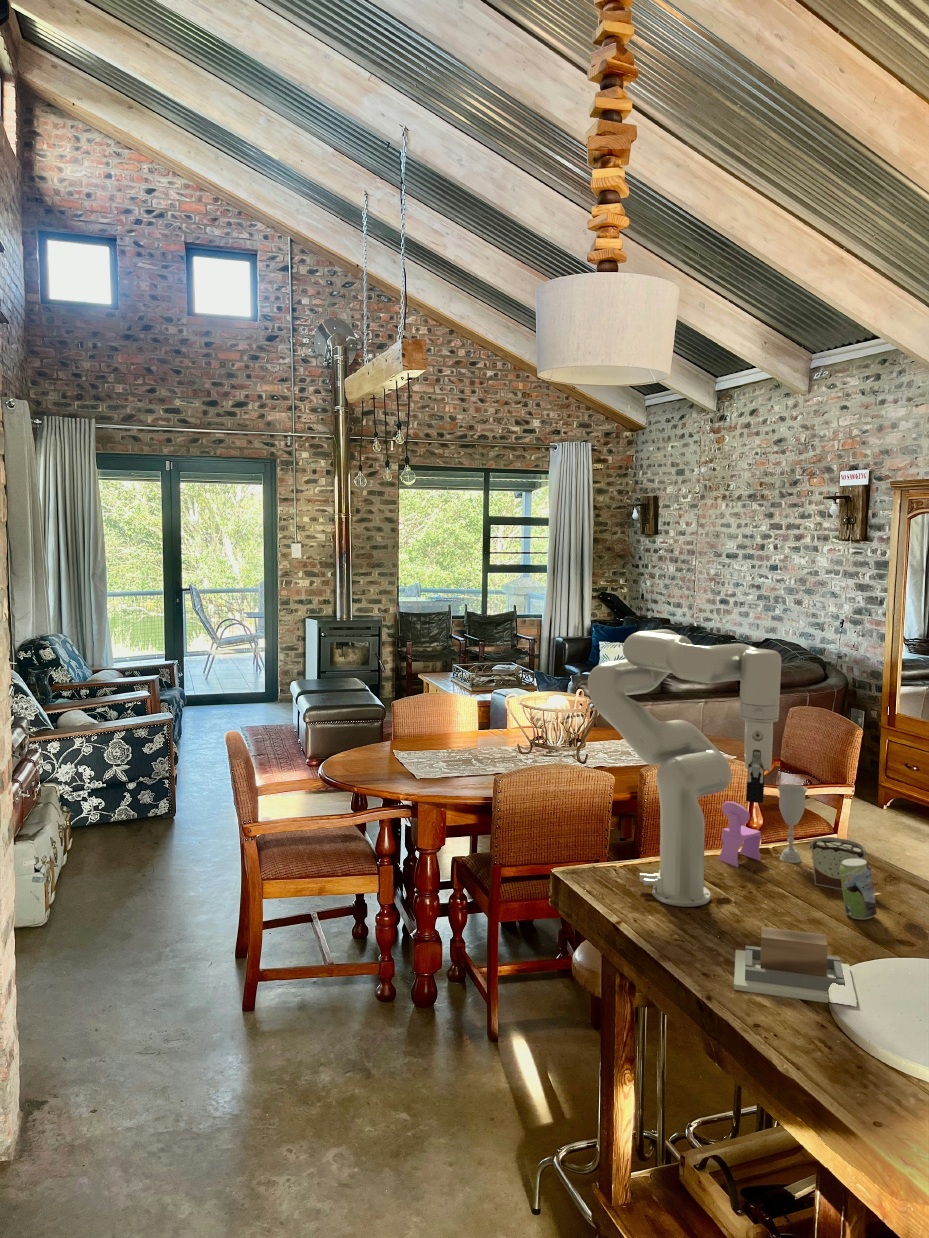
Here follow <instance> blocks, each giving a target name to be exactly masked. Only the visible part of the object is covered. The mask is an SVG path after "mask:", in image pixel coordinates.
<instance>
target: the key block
mask: <svg viewBox="0 0 929 1238" xmlns="http://www.w3.org/2000/svg"><path fill="white" fill-rule="evenodd" d="M760 927H761V928H760V929H761V930H760V932H761V933H760V947H761V961H760V968H762V969H769V970H777V971H784V972H792V973H799V974H807V975H814V976H822V977H827V956H828V948H829V947H828V941H827V939H828V938H827V935H826V934H825V933H824V934H823V933H815V932H807V931H800V930H790V929H782V928H775V927H766V926H760Z"/></svg>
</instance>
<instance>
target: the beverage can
mask: <svg viewBox="0 0 929 1238" xmlns="http://www.w3.org/2000/svg"><path fill="white" fill-rule="evenodd" d="M840 876H841V883H842V895H843V896H842V898H843V903H844V911H845V914H846V915H847V916H849V917H850V918H852V919H855V920H869V919H872V918H873V917H874V916H875V915H876V914H877V911H878V910H877V905H876V898H875V891H874V890H875V889H874V883H873V876H872V868H871V865H869V864H868V860H866V859H865V858H864V859H860V858H849V859H845V860H843V861H842V864H841V866H840Z"/></svg>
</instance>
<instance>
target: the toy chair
mask: <svg viewBox="0 0 929 1238" xmlns="http://www.w3.org/2000/svg"><path fill="white" fill-rule="evenodd" d="M721 811H722V813H723V814H724V815H725V817H727V820H728V827H725V828H723V829H722V833H721V841H722V842H721V843H722V847H721V851H720V854H719V856H718V857H717V860H718V861H721V862H722V863H723V862H724V863H726V864H728V865H732V866H734V867H735V868H738V867H739V859H738V857H739V854H740V855H742V856H745V857H747V858H751V859H754V860H756V861H759V862H760V861H761V856H760V843H761V840H762V835H761V832H762V831H760V830H757V829H752V828H749V827H747V826H745V825H746V824H748V822H749V820H750V819H751V814H750V812H749V810H748V809H746V807H745V806H743V805H742V804H739V803H737V802H734V801H725V802H724V803H723V804H722V806H721ZM742 844H743V845H742ZM741 846H742V847H741ZM739 849H740V851H739ZM738 853H739V854H738ZM739 868H740V867H739Z"/></svg>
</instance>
